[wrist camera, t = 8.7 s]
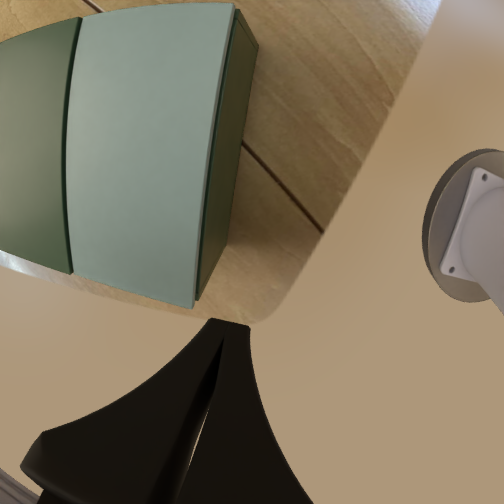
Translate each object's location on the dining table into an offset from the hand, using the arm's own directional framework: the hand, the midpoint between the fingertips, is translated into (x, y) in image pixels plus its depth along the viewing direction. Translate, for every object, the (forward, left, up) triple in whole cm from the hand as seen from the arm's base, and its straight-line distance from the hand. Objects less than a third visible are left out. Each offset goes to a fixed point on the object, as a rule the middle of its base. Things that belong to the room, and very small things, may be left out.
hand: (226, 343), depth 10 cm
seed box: (+9, -5, -10) cm, 15 cm away
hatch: (+5, -5, -4) cm, 8 cm away
